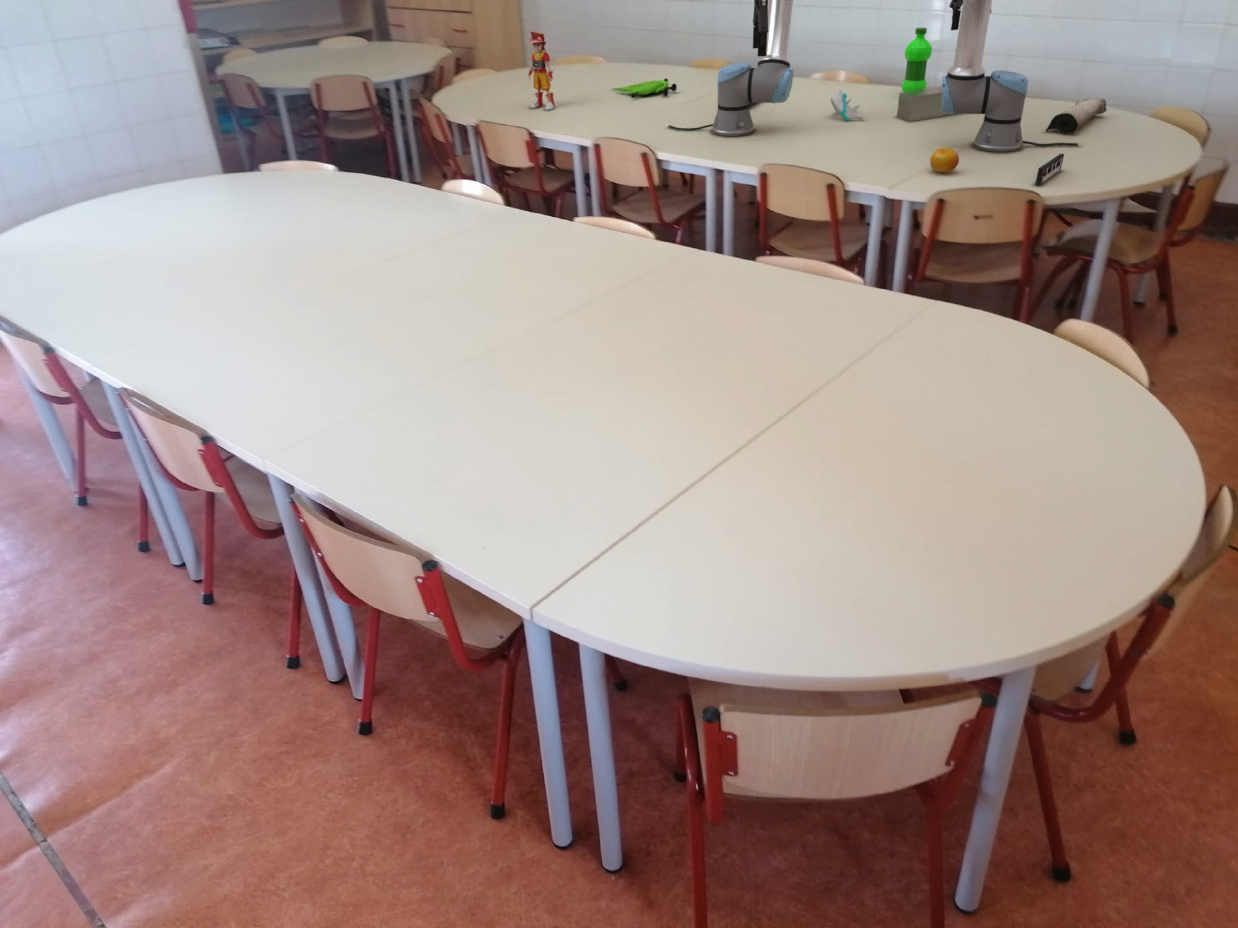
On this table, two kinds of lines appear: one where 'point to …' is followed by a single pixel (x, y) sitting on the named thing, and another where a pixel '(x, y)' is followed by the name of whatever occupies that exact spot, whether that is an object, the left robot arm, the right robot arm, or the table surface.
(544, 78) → the toy
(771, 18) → the left robot arm
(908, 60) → the plastic bottle
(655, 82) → the toy
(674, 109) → the table surface
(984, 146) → the right robot arm
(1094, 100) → the rolled mat
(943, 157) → the fruit
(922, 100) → the box
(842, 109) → the anatomical model
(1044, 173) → the midi keyboard
